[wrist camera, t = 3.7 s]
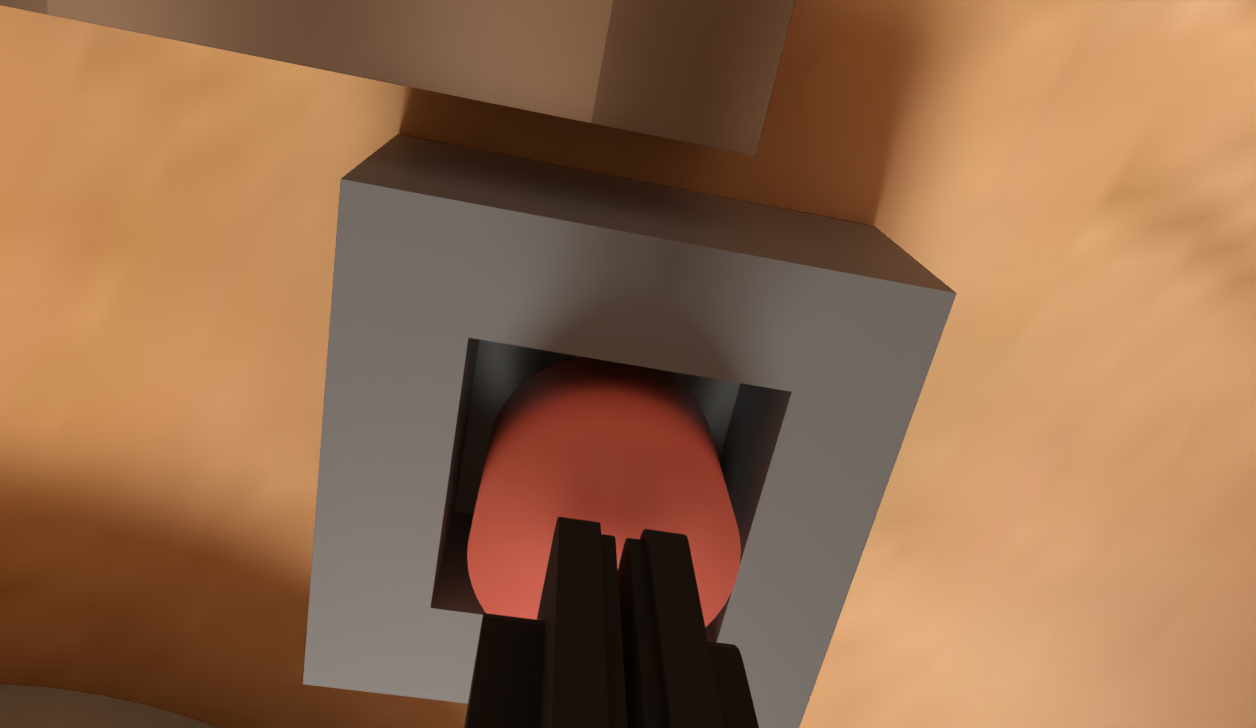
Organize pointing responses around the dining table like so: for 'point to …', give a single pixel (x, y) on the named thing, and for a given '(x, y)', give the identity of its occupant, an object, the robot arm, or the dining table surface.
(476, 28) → the frame
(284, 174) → the dining table surface
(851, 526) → the button base
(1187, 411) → the dining table surface
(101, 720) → the cake pan
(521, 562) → the button
